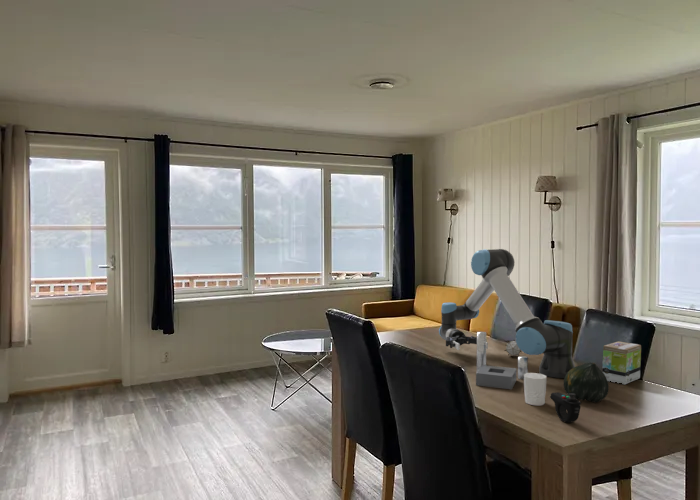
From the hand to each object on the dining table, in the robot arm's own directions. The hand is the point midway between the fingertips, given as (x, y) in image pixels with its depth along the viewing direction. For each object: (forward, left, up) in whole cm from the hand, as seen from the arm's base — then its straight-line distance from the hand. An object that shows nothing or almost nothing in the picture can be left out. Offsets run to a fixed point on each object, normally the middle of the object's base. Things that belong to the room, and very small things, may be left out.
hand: (473, 346), depth 242 cm
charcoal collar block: (-14, +20, -10) cm, 26 cm away
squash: (-48, +28, -10) cm, 56 cm away
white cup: (-31, +40, -10) cm, 51 cm away
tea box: (-61, -7, -10) cm, 62 cm away
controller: (-42, +55, -10) cm, 70 cm away
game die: (-14, -30, -10) cm, 35 cm away
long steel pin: (-5, +7, -10) cm, 13 cm away
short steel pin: (-23, +8, -10) cm, 26 cm away
